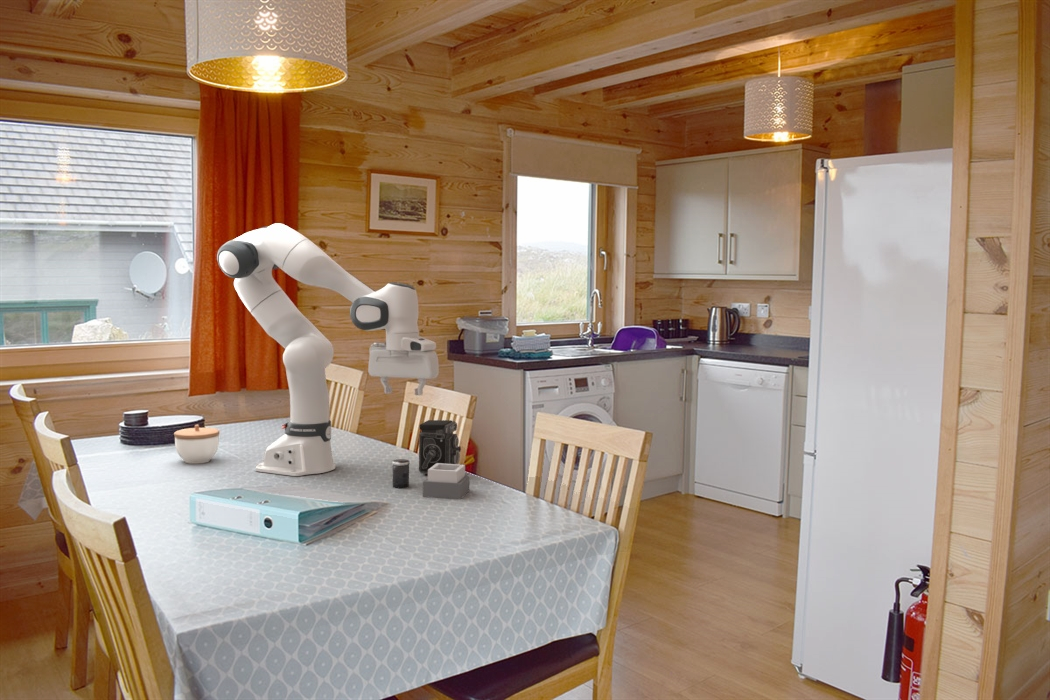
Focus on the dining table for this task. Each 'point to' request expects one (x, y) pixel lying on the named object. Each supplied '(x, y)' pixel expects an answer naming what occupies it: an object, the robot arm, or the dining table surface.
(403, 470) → the lens
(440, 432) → the camera
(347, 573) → the dining table surface
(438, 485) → the mount block
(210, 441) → the lidded bowl
